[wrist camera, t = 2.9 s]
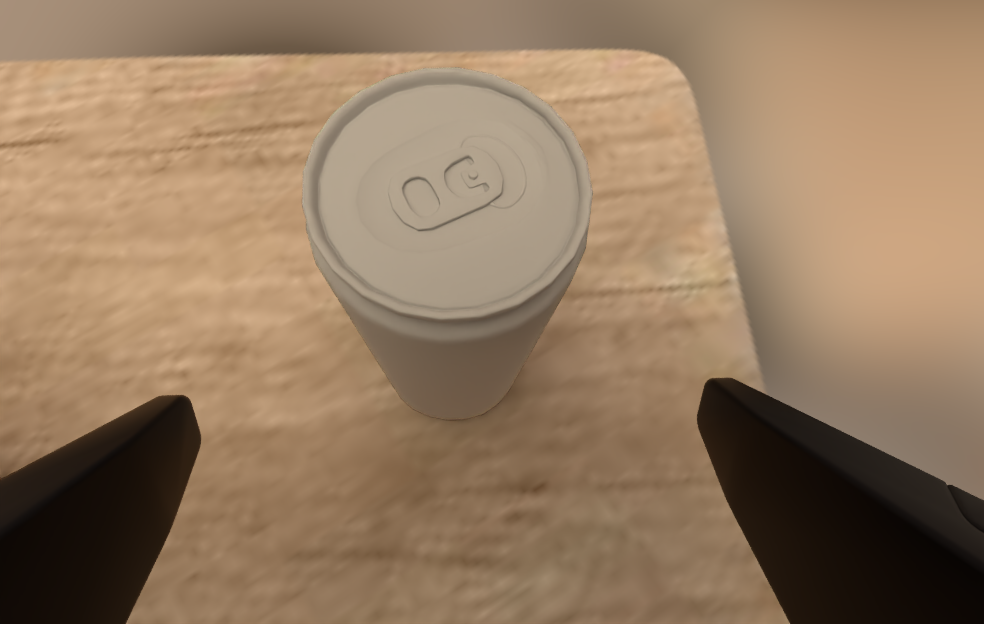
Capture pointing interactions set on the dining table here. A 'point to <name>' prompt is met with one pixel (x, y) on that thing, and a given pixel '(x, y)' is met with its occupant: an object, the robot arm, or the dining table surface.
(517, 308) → the beverage can
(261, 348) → the dining table surface
